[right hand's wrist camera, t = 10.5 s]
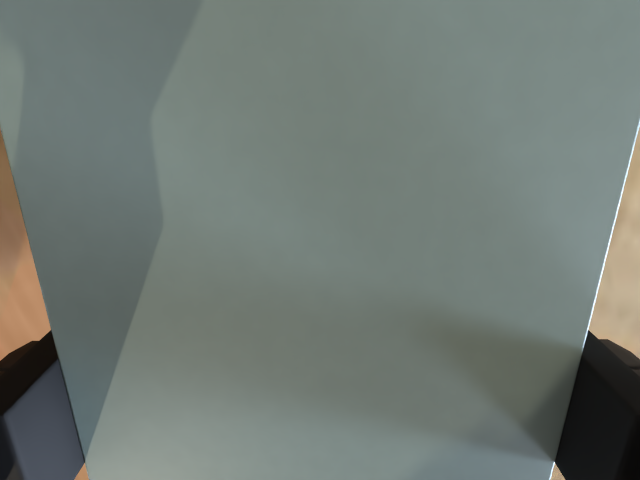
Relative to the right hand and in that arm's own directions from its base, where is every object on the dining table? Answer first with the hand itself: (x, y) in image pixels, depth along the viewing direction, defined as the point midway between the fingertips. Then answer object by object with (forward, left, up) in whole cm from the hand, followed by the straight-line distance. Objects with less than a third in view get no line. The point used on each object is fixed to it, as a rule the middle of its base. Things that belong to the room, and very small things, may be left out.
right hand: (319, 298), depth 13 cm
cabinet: (+3, -5, -6) cm, 9 cm away
